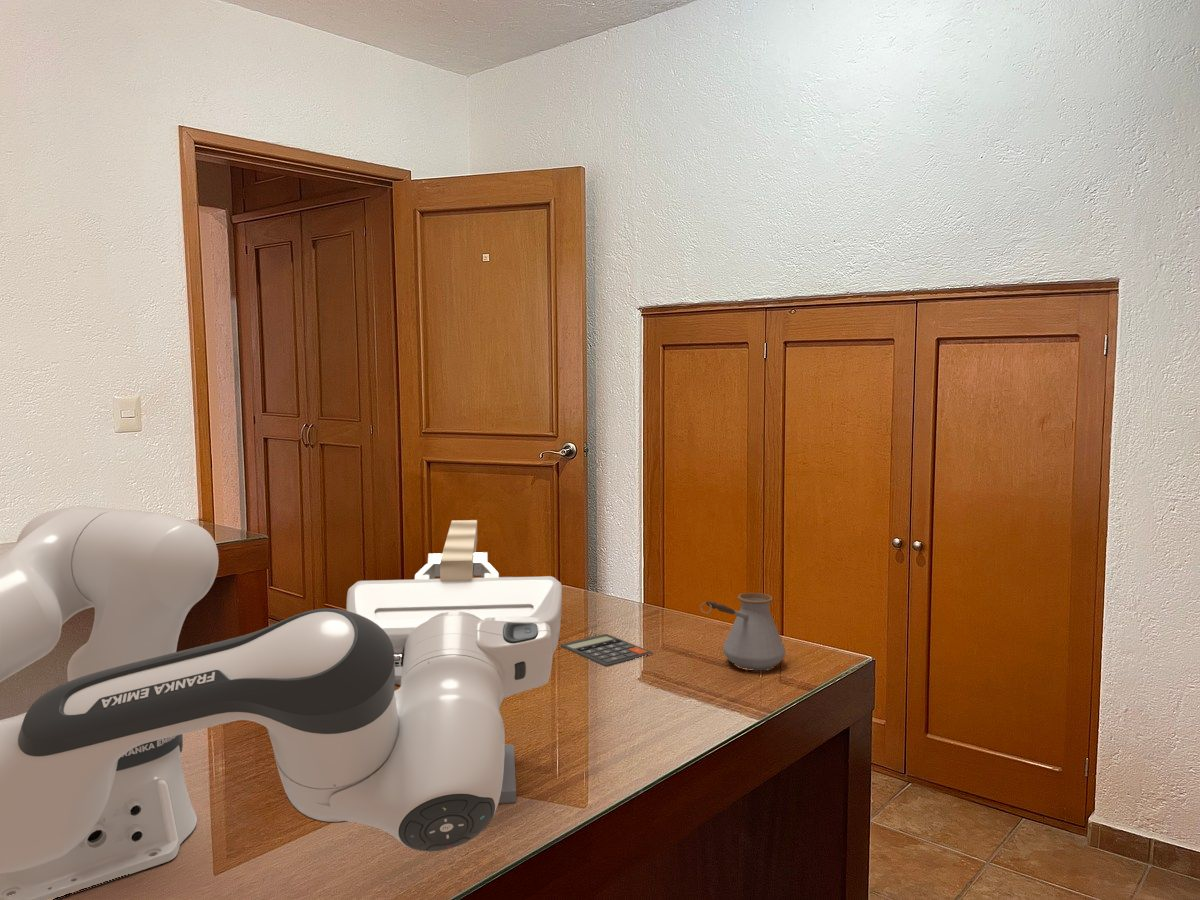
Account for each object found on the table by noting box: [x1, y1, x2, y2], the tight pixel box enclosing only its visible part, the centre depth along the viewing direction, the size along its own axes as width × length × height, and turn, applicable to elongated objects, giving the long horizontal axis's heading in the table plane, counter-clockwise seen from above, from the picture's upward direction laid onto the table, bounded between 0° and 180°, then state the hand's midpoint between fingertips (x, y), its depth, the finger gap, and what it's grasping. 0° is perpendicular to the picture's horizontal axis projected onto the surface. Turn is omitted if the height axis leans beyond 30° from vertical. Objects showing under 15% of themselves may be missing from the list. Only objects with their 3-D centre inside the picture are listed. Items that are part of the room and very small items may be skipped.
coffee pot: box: [700, 592, 786, 671], centre depth 162 cm, size 21×12×15 cm, turn 137°
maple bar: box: [439, 519, 478, 580], centre depth 96 cm, size 22×3×2 cm, turn 7°
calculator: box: [559, 633, 654, 668], centre depth 174 cm, size 12×1×15 cm
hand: (458, 557), depth 90 cm, fingers closed on maple bar, 3 cm apart
